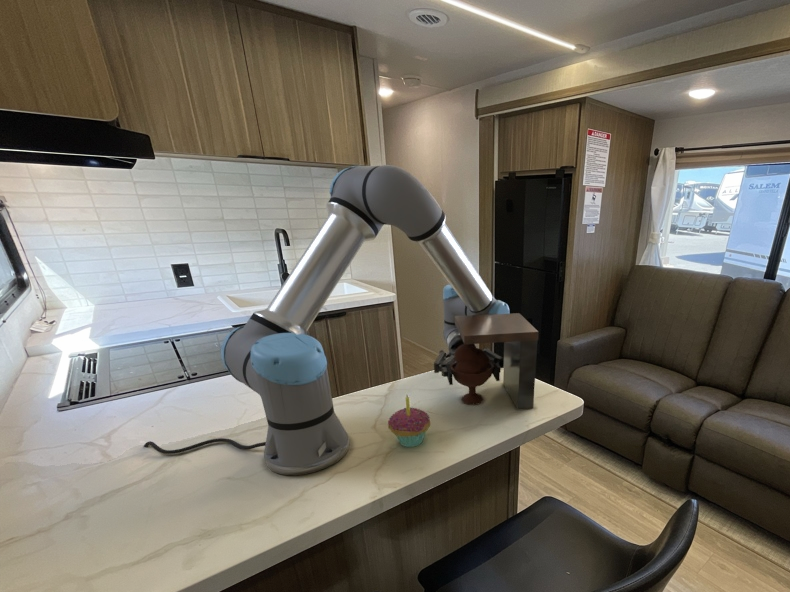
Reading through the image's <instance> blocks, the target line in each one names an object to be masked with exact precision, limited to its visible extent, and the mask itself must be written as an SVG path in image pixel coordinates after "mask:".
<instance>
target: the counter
mask: <svg viewBox="0 0 790 592" xmlns="http://www.w3.org/2000/svg"><path fill="white" fill-rule="evenodd" d="M455 325H456V327H457V329H458V332H459V334H460V336H461V338H462V340H463V342H464V344H475V345H478V344H480V345H481V344H494V343H503V358H504V368H503V372H502V373H503V374H502V376H503V378H502V379H503V380H502V385H503V387H504V388H505V390H506V391H507V393H508V395H509V397H510V399H511V400H512V402H513V404H514V406H515V407H516V410H519V411H520V410H531V409H534V401H535V384H536V369H537V351H538V341H539V333H540V332H539V330H537V329H536V328H535V327H534V326H533V325H532V324H531V322H529V321H528V320H527V319H526V318H525V317H524V316H523V315H522V314H521V313H519V312H518V313H517V312H516V313H514V312H513V313H512V312H511V313H509V314H490V315H468V316H455Z"/></svg>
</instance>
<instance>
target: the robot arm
mask: <svg viewBox="0 0 790 592" xmlns="http://www.w3.org/2000/svg"><path fill="white" fill-rule="evenodd" d="M329 194H330V198H329V200H328V201H327V203H326V205H325V208H326V212H327V218H326V219H325V221H323V224H322V225H321V227H320V228H319V230H318V231H317V233H316V234H315V236H314V237H313V239H312V240H311V242H310V243H309V245H308V246H307V247H306V249H305V250H304V251H303V253H302V255H301V257H300V258H299V259H298V261H297V263H296V264H295V266H294V267H293V269H292V270H291V272H290V273H289V274H288V276H287V278H286V279H285V281H284V282H283V284H282V285H281V286H280V288H279V290H278V291H277V293H276V294H275V295H274V297H273V299H272V301H270V303H269V305H268V306H267V307H266V308H265V309H261V310H256V311H254V312H253V313H252V314H251V316H250V317H249V318H248V320H247V322H246V323H245V324H244V325H240V326H238V327H236V328H233V329H232V330H231V331H230V332H229V333H227V335H226V336H225V338H224V339H223V341H222V343H221V347H220V358H221V363H222V365H223V367H224V368H225V369H226V371H228V373H229V374H230V375H231V377H233V378H234V379H235V380H236V381H237V382H239V383H241V384H243V385H245V386H246V387H248V388H249V389H251V390H252V391H253V392H255V393H257V394H258V395H259V396H260V398H261V402H262V407H263V411H264V415H265V418H266V423H267V433H266V438H265V441H263V442H258V443H255V444H254V443H253V444H250V445H243V444H241V443H238V442H237V441H236V440H234V439H231V438H227V437H225V438H224V437H220V438H212V439H208V440H204V441H201V442H198V443H195V444H192V445H189V446H186V447H181V448H177V449H164V448H162V447H160V446H159V445H158V444H156V442H154V441H150V440H149V441H147V442H145V443H144V445H143V448H148V447H152V448H153V449H154V450H155V451H157V452H158V453H161V454H165V455H173V454H180V453H184V452H188V451H192V450H194V449H196V448H197V449H198V448H200V447H202V446H205V445H209V444H214V443H223V442H224V443H228V444H231V445H233V446H234V447H236V448H238V449H240V450H252V449H257V448H261V447H264V451H263V456H264V459H265V464H266V466H267V468H268V469H269V470H270V471H272V472H274V473H276V474H280V475H283V476H284V475H285V476H302V475H307V474H308V475H309V474H313V473H316V472H320V471H321V470H324V469H327V468H329V467H331V466H333V465H334V464H336V463H337V462H339V461H340V460H341V459H343V458H344V456H345V455H346V454H347V453H348V451H349V449H350V439H349V435H348V432H347V430H346V429H345V428H344V427H345V426H344V425H343V424H342V422H341V421H340V419H339V417H338V416H337V414H336V412H335V409H334V401H333V395H332V389H331V384H330V378H329V371H328V370H329V369H328V361H327V356H326V355H325V351H324V348H323V345H322V343H321V342H320V341H319V340H318V339H316V338H315V337H313V336H311V335H308V331H309V329H310V327H311V326H312V325H313V322H314V321H315V319H316V318H317V316H318V315H319V314H320V311H321V310H322V309H323V307H324V305H325V304H326V303H327V301H328V299H329V298H330V296H331V295H332V293H333V292H334V290H335V289H336V286H337V285H338V284H339V282H340V280H341V279H342V278H343V276H344V274H345V272H346V271H347V269H348V268H349V267H350V265H351V263H352V261H353V260H354V258H355V257H356V255H357V253H358V252H359V250H360V249H361V247H362V246H363V244H364V243H365V242H371V241H374V240H375V238H377V236H378V234H379V233H380V232H381V229H382V228H383V226H385V225H386V226H393V227H396V228H398V229H399V230H400V231H402V233H404V234H405V236H406V237H407V238H408V239H409V241H410V242H412V243H418V244H419V246H420V247H421V248H422V250H423V251H424V252H425V254H426V255H427V257H428V258H429V259H430V260H431V262H432V263H433V264H434V266H435V267H436V268H437V270H438V271H439V272H440V273H441V275H442V276H443V277H444V278H445V280H446V281H447V282H448V284H447V285H444V287H443V293H442V295H443V296H442V302H443V303H442V304H443V305H442V306H443V331H442V333H443V335H442V336H443V339H444V341H445V343H446V346H447V349H448V352H447V351H444V350H443V349H441V350H439V353H438V356H437V358H436V359H435V360H434V362H433V373H434V374H439V373H440V372H441V376H442V377H443V378H447V381H448V385H449V386H453V385H454V383H453V382H454V380H453V379H454V377H453V374H452V372H451V368H450V364H452V363H453V362H454V361H455V358H454V353H455V351H456V349H457V348H458V347H459V346H461V345H463V344H464V342H463V340H462V338H461V336H460V334H459V332H458V329H457V327H456V325H455V316H468V315H490V314H511V313H510V307H509V305H508V303H506V302H504V301H502V300H500V299H496V298H495V296H494V295H493V294H492V292H491V290H490V289H489V288H488V286H487V284H486V283H485V281H484V280H483V278H482V277H481V275H480V274H479V272H478V271H477V269H476V268H475V266H474V264H473V263H472V261H471V259H470V258H469V257H468V255H467V254H466V253H465V250H464V249H463V248H462V245H460V243H459V242H458V240H457V239H456V237H455V235H454V234H453V232H452V231H451V229H450V228H449V226H448V225H447V223H446V220H447V219H446V218H447V216H446V214H445V212H444V210H443V209H442V207H441V206H440V204H439V203H438V201H437V200H436V198H435V197H434V195H432V193H431V192H430V191H429V190H428V189H427V187H426V186H425V185H424V184H423V183H422V182H421V181H420V180H419V179H418V178H417V177H416V176H414V174H412V173H411V172H409V171H408V170H407V169H404V168H402V167H400V166H397V165H393V164H382V165H353V166H349V167H347V168H343V169H342V170H340V171H338V173H337V174H335V175H334V177H333V178H332V180H331V183H330V186H329ZM469 345H473V346H474V347H475V348H477V346H476V344H469ZM482 350H483V351H484V352H485V353H486V354H487V355H488V357H489V361H491V362H492V364H493V365H494V366H495V367H494V371H493V373H492V376H493V377H494V379H495V381H496V382H500V379H501V378H500V377H501V370H502V369H504V357H502V356H500V355H499V354H497V353H495V352H493V351H492V350H491V349H490V348H489V347H484V349H482Z"/></svg>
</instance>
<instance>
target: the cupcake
mask: <svg viewBox="0 0 790 592" xmlns="http://www.w3.org/2000/svg"><path fill="white" fill-rule="evenodd" d="M410 406H411V405H410V396H409V395H408V394H406V396H405V407H404V408H402V409H399V410H397V411H396V412H394V413H393V414H392V415H391V416H390V417H389V418H388V419H389V420H388V421H387V425H388V426H387V428H388V430H389V431H390V432H391V433H393V434H394V435H395V436H396V437H397V439H398V442H399V444H400V445H402V446H403V447H407V448H413V447H417V446H419V445H421V444H422V443H423V441H424V437H425V434H426V432H427V431H428V429H429V428H430V427H431V421H430V416H429V414H428V413H426V411H424V410H423V409H420V408H417V407H410Z"/></svg>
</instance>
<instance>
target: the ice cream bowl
mask: <svg viewBox="0 0 790 592" xmlns="http://www.w3.org/2000/svg"><path fill="white" fill-rule="evenodd" d="M483 350H484V349H481V348H479V347H476V348H475V347H474V346H473V345H469V344H463V345H461V346H459V347H458V348H457V349H456V351H455V353H454V358H455V361H454V362H453V363H452V364H450V368H451V372H452V377H453V379H454V380H455V381H456V382H457V384H458V383H459V384H460V385H462V386H463V387H464V386H465V387H467V388H468V392H467V393H465V394H464V395H463V396H462V397H461V402H462V403H463V404H466V405H469V406H470V405H472V406H473V405H475V406H476V405H478V404H481V403H482V402H483V401H484V398H483V396H482V395H481V394H480V393H477V391H476V388H477V387H480V386H483V385H485V384H486V382H487V381H489V379H490V378H491V377H492V376H493V374H492V373H493V371H494V367H495V366H494V365H493V364H492V362H491V361H489V357H488V355H487V354H486V353H485V352H484V351H483Z"/></svg>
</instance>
